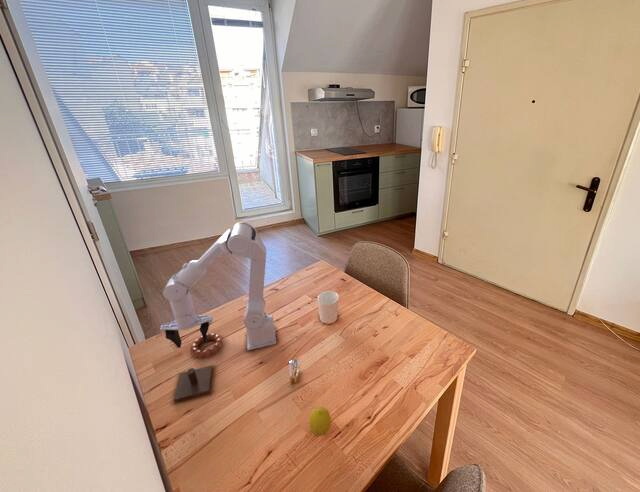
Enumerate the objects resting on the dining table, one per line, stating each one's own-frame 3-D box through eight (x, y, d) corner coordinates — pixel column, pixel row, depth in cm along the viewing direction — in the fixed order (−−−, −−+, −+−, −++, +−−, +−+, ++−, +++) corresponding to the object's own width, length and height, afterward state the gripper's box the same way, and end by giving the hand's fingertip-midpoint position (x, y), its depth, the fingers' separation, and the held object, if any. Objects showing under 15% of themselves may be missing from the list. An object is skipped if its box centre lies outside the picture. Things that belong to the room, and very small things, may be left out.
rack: (212, 367, 93) (209, 354, 91) (209, 393, 86) (205, 379, 83) (180, 375, 90) (176, 362, 88) (174, 402, 83) (169, 389, 80)
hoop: (223, 333, 106) (222, 329, 105) (221, 354, 98) (220, 350, 97) (193, 340, 103) (192, 335, 102) (189, 362, 95) (188, 357, 94)
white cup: (342, 315, 116) (342, 295, 112) (330, 328, 110) (329, 307, 106) (326, 308, 120) (326, 288, 116) (314, 319, 114) (313, 299, 110)
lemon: (310, 420, 79) (309, 401, 76) (331, 419, 80) (330, 400, 76) (309, 443, 74) (307, 423, 71) (331, 441, 75) (330, 422, 71)
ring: (297, 390, 87) (295, 372, 84) (287, 389, 87) (285, 370, 84) (304, 370, 93) (302, 352, 90) (294, 369, 94) (292, 351, 90)
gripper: (210, 298, 98) (217, 329, 104) (160, 307, 93) (170, 338, 99) (208, 312, 92) (215, 344, 98) (154, 322, 87) (165, 355, 93)
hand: (192, 342), depth 98 cm, fingers open, 7 cm apart
